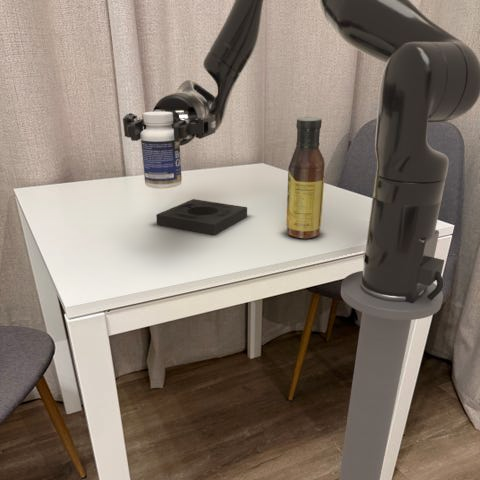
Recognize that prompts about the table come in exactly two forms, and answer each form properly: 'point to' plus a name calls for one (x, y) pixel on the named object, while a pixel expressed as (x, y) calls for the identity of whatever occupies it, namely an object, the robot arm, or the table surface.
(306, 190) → the sauce bottle
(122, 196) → the table surface
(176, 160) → the pill bottle
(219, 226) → the dock pad
